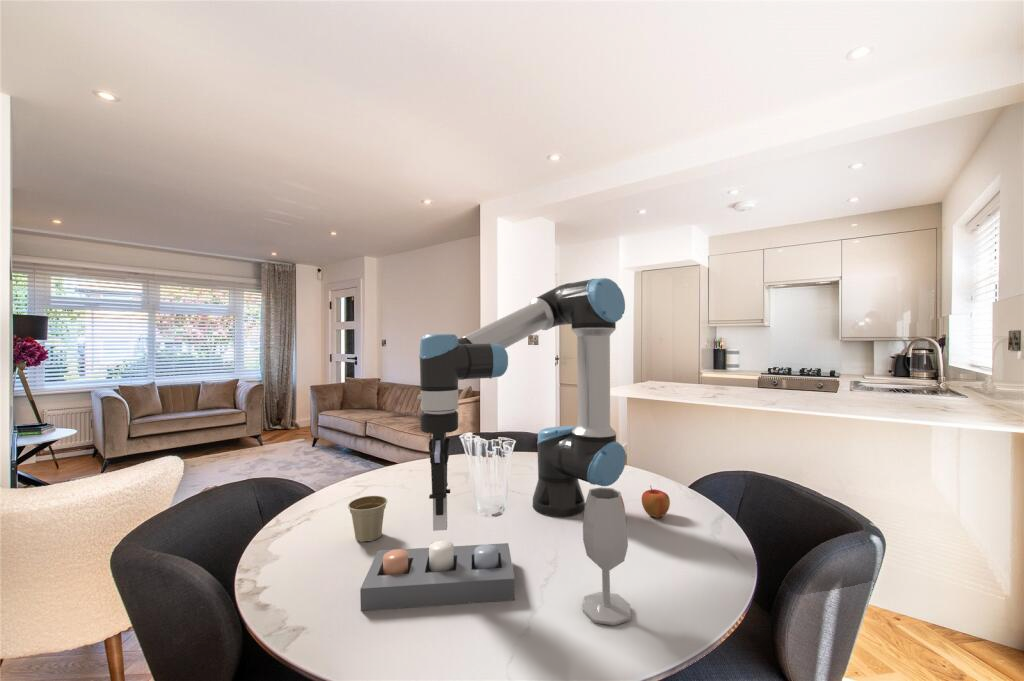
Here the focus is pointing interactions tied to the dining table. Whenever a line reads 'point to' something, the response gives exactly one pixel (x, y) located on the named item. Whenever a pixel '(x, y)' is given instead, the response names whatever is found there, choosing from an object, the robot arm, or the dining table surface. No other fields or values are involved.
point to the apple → (655, 502)
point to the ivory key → (441, 556)
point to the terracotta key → (395, 562)
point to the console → (438, 581)
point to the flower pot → (367, 517)
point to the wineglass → (605, 552)
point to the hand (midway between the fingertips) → (440, 528)
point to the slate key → (486, 557)
